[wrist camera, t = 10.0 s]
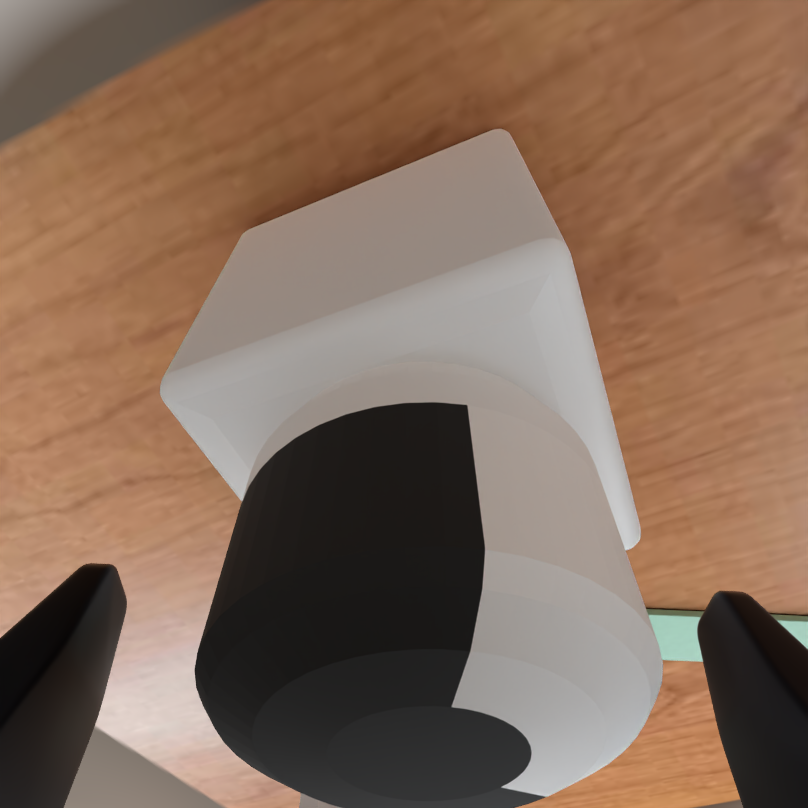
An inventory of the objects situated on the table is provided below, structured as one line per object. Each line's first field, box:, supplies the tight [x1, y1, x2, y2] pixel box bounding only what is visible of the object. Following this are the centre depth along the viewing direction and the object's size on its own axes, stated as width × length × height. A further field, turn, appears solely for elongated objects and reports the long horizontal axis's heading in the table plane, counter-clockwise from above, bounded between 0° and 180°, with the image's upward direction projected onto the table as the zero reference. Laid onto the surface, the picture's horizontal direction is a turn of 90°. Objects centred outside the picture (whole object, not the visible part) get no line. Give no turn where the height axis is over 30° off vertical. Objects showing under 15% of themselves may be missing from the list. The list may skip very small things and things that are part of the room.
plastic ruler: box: [646, 609, 808, 662], centre depth 27 cm, size 15×3×1 cm, turn 86°
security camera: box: [160, 129, 663, 808], centre depth 12 cm, size 7×7×12 cm
